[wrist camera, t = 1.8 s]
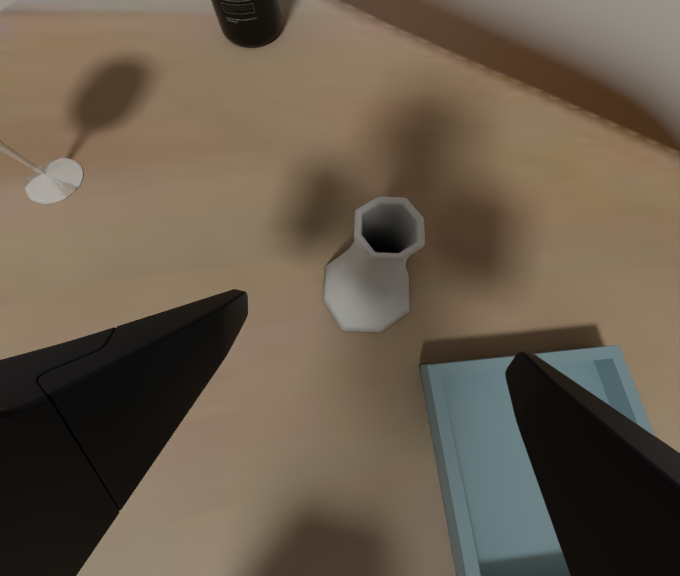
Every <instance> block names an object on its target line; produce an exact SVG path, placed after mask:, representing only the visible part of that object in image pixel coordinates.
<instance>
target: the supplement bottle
mask: <svg viewBox="0 0 680 576" xmlns="http://www.w3.org/2000/svg"><path fill="white" fill-rule="evenodd" d="M211 1H212V4H213V7H214V10H215V13H216V16H217V18H218V21H219V24H220V27H221V29H222V32H223V33H224V35H225V36H226V38H227V39H228V40H230V41H231V42H232V43H234V44H236V45H239V46H243V47H257V46H262V45H265V44H267V43H269V42H271V41H272V40H273V39H275V38H276V36H277V35H278V33H279V31H280V29H281V15H280V9H279V3H278V0H211Z"/></svg>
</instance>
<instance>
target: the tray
mask: <svg viewBox="0 0 680 576" xmlns="http://www.w3.org/2000/svg"><path fill="white" fill-rule="evenodd" d="M531 354H534V355H536V356H538V357H539V358H541V359H542V360H544V361H545V362H547V363H548V364H550V365H551V366H553V367H554V368H555V369H557V370H558V371H560V372H561V373H563V374H564V375H566V376H567V377H569V378H570V379H572V380H573V381H575V382H576V383H577V384H579V385H580V386H582V387H583V388H585V389H586V390H588V391H589V392H591V393H592V394H594V395H595V396H597V397H598V398H599V399H601V400H602V401H604V402H605V403H607V404H608V405H610V406H611V407H613V408H614V409H616V410H617V411H619V412H620V413H621V414H623V415H624V416H626V417H627V418H629V419H630V420H632V421H633V422H635V423H636V424H638V425H639V426H641V427H642V428H643V429H645V430H646V431H648V432H649V433H651V434H652V435H654V432H653V430H652V427H651V425H650V422H649V420H648V417H647V415H646V412H645V410H644V407H643V405H642V402H641V400H640V397H639V394H638V392H637V389H636V387H635V384H634V382H633V379H632V377H631V374H630V372H629V369H628V367H627V364H626V362H625V359H624V357H623V354H622V351H621V349H620V346H619V345H615V346H599V347H587V348H578V349H568V350H558V351H549V352H539V353H531ZM514 357H515V355H511V356H501V357H491V358H482V359H472V360H463V361H453V362H443V363H434V364H424V365H419V367H420V373H421V379H422V384H423V390H424V395H425V401H426V407H427V412H428V418H429V424H430V429H431V435H432V441H433V446H434V452H435V457H436V463H437V469H438V474H439V480H440V486H441V491H442V497H443V503H444V508H445V514H446V519H447V525H448V531H449V536H450V542H451V548H452V553H453V559H454V565H455V570H456V576H570V573H569V570H568V567H567V564H566V562H565V559H564V556H563V553H562V550H561V547H560V545H559V542H558V539H557V536H556V533H555V530H554V528H553V525H552V522H551V519H550V516H549V513H548V511H547V508H546V505H545V502H544V499H543V496H542V494H541V491H540V488H539V485H538V482H537V479H536V477H535V474H534V471H533V468H532V465H531V462H530V460H529V457H528V454H527V451H526V448H525V445H524V443H523V440H522V437H521V434H520V431H519V428H518V425H517V422H516V418H515V415H514V411H513V406H512V402H511V398H510V394H509V390H508V386H507V382H506V378H505V372H506V369H507V367H508V366H509V364H510V363H511V361H512V360H513V358H514ZM654 436H655V435H654Z"/></svg>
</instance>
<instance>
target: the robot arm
mask: <svg viewBox="0 0 680 576" xmlns="http://www.w3.org/2000/svg"><path fill="white" fill-rule="evenodd" d="M247 315H248V296H247V293H246V292H245V291H241V290H236V289H233V290H230V291H227V292H224V293H221V294H218V295H214V296H211V297H208V298H205V299H202V300H199V301H196V302H192V303H189V304H186V305H183V306H180V307H177V308H174V309H170V310H167V311H164V312H161V313H158V314H155V315H152V316H148V317H145V318H142V319H139V320H136V321H133V322H130V323H126V324H123V325H120V326H117V328H110V329H107V330H104V331H101V332H98V333H95V334H91V335H88V336H85V337H82V338H78V339H75V340H72V341H68V342H65V343H61V344H57V345H54V346H50V347H47V348H43V349H39V350H36V351H32V352H28V353H25V354H21V355H17V356H13V357H10V358H6V359H2V360H0V576H76V575H77V574H78V572H79V571H80V569H81V568H82V566H83V565H84V564H85V562H86V561H87V559H88V558H89V556H90V555H91V553H92V552H93V550H94V549H95V547H96V546H97V545H98V543H99V542H100V540H101V539H102V537H103V536H104V534H105V533H106V531H107V530H108V528H109V527H110V526H111V524H112V523H113V521H114V520H115V518H116V517H117V515H118V514H119V510H121V509H122V508H123V506H124V505H125V503H126V502H127V500H128V499H129V497H130V496H131V495H132V493H133V492H134V490H135V489H136V487H137V486H138V484H139V483H140V481H141V480H142V478H143V477H144V476H145V474H146V473H147V471H148V470H149V468H150V467H151V465H152V464H153V462H154V461H155V460H156V458H157V457H158V455H159V454H160V452H161V451H162V449H163V448H164V446H165V445H166V443H167V442H168V441H169V439H170V438H171V436H172V435H173V433H174V432H175V430H176V429H177V427H178V426H179V424H180V423H181V422H182V420H183V419H184V417H185V416H186V414H187V413H188V411H189V410H190V408H191V407H192V406H193V404H194V403H195V401H196V400H197V398H198V397H199V395H200V394H201V392H202V391H203V389H204V388H205V387H206V385H207V384H208V382H209V381H210V379H211V378H212V376H213V375H214V373H215V372H216V371H217V369H218V368H219V366H220V365H221V363H222V362H223V360H224V359H225V357H226V356H227V354H228V352H229V350H230V349H231V347H232V345H233V343H234V341H235V339H236V337H237V335H238V333H239V332H240V330H241V328H242V326H243V324H244V322H245V320H246V318H247ZM505 378H506V382H507V386H508V390H509V394H510V398H511V402H512V406H513V411H514V415H515V418H516V422H517V425H518V428H519V431H520V434H521V437H522V440H523V443H524V445H525V448H526V451H527V454H528V457H529V460H530V462H531V465H532V468H533V471H534V474H535V477H536V479H537V482H538V485H539V488H540V491H541V494H542V496H543V499H544V502H545V505H546V508H547V511H548V513H549V516H550V519H551V522H552V525H553V528H554V530H555V533H556V536H557V539H558V542H559V545H560V547H561V550H562V553H563V556H564V559H565V562H566V564H567V567H568V570H569V573H570V576H680V453H679V452H677V451H676V450H674V449H673V448H671V447H670V446H668V445H667V444H665V443H664V442H663V441H661V440H660V439H658V438H657V437H655V436H654V435H652V434H651V433H649V432H648V431H646V430H645V429H643V428H642V427H641V426H639V425H638V424H636V423H635V422H633V421H632V420H630V419H629V418H627V417H626V416H624V415H623V414H621V413H620V412H619V411H617V410H616V409H614V408H613V407H611V406H610V405H608V404H607V403H605V402H604V401H602V400H601V399H599V398H598V397H597V396H595V395H594V394H592V393H591V392H589V391H588V390H586V389H585V388H583V387H582V386H580V385H579V384H577V383H576V382H575V381H573V380H572V379H570V378H569V377H567V376H566V375H564V374H563V373H561V372H560V371H558V370H557V369H555V368H554V367H553V366H551V365H550V364H548V363H547V362H545V361H544V360H542V359H541V358H539V357H538V356H536V355H534V354H531V353H526V352H519V353H517V354H516V355H515V357H514V358H513V360H512V361H511V363H510V364H509V366H508V367H507V369H506V372H505Z"/></svg>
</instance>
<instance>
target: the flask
mask: <svg viewBox="0 0 680 576" xmlns="http://www.w3.org/2000/svg"><path fill="white" fill-rule="evenodd" d="M424 245H425V232H424V218H423V217H422V215H421V214H420V213H419V212H418V211H417V210H416V209H415V207H414V206H413V205H412V204H411V203H410V202H409V200H408V199H407V198H402V197H379V196H378V197H376V198H375V199H373V200H371V201H370V202H368V203H366V204H365V205H363V206H361V207H360V208H358V209H356V210H355V221H354V242H353V244H352V246H351V247H350V248H349V249H348V250H346V251H345V252H344V253H343V254H342V255H340V256H339V257H338V258H336V259H335V260H333V261H332V262H330V263H329V264H327V265H326V266H325V272H324V286H323V302H324V303H325V305H326V306H327V308H328V309H329V311H330V312H331V314H332V315H333V317H334V318H335V320H336V321H337V323H338V324H339V326H340V327H341V329H342V330H343V331H359V332H379V333H381V332H382V331H383V330H385V329H386V328H388V327H389V326H390V325H392V324H393V323H395V322H396V321H398V320H399V319H400V318H402V317H403V316H405V315H406V314H407V313H409V312H410V300H409V275H408V272H407V269H406V261H407V258H408V257H409V256H410V255H412V254H413V253H415V252H416V251H418V250H419V249H421V248H422V247H424Z"/></svg>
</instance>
